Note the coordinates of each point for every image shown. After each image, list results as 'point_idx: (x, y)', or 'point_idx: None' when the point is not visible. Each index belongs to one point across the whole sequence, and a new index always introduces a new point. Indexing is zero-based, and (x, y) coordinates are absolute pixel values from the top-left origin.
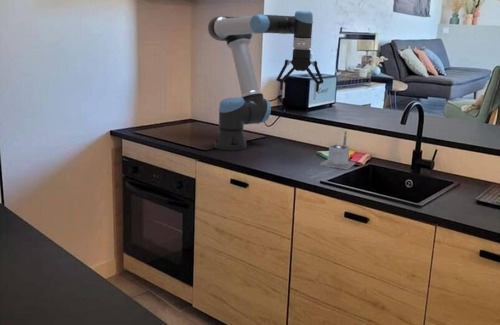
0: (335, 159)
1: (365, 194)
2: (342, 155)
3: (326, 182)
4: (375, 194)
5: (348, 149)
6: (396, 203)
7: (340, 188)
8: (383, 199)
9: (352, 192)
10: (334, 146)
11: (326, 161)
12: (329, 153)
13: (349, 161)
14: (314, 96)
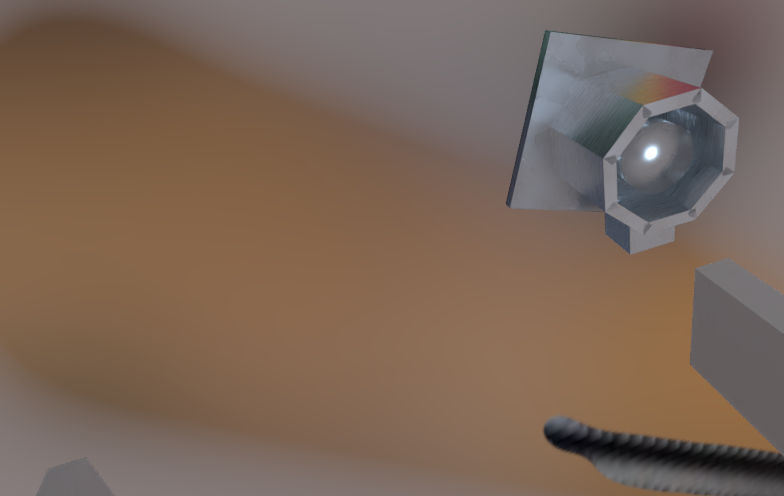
0: (614, 239)
1: (690, 465)
2: (666, 240)
3: (563, 429)
4: (721, 449)
5: (723, 179)
6: (765, 482)
7: (614, 458)
8: (736, 474)
9: (651, 470)
10: (634, 125)
11: (540, 137)
12: (586, 197)
13: (677, 54)
14: (747, 403)
